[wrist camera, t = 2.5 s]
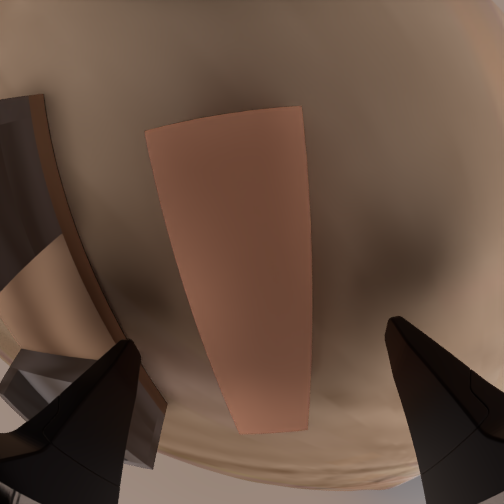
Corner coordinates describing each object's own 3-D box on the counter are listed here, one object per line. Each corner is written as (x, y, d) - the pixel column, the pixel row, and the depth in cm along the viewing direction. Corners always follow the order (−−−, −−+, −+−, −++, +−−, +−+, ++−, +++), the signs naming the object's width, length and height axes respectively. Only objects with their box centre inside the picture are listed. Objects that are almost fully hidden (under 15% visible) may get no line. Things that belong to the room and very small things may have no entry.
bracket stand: (43, 93, 8) (-57, 113, 3) (167, 404, 18) (153, 469, 13) (-48, 164, 9) (-106, 198, 4) (65, 389, 18) (44, 437, 14)
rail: (186, 120, 9) (144, 131, 6) (284, 106, 9) (301, 105, 5) (242, 376, 16) (239, 434, 12) (300, 371, 16) (307, 429, 12)
